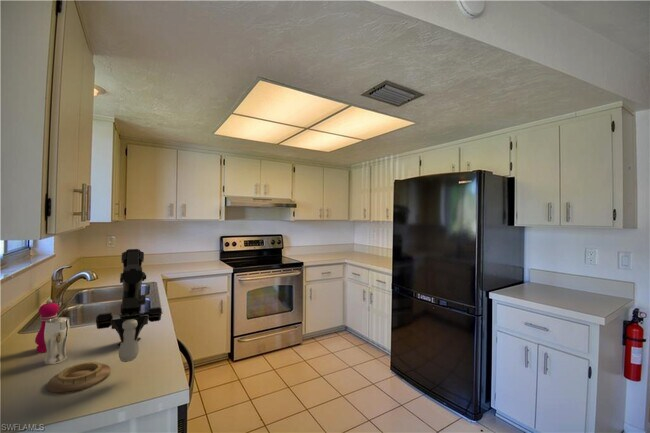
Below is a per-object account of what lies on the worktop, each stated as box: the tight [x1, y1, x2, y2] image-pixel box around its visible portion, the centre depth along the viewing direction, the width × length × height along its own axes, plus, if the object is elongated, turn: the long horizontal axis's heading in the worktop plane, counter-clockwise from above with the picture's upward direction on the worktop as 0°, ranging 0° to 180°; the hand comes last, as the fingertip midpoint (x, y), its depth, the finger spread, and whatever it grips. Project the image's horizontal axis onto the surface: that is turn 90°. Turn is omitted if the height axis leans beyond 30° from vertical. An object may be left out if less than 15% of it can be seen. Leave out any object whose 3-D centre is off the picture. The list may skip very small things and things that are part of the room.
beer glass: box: [44, 316, 71, 365], centre depth 108 cm, size 7×7×15 cm
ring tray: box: [46, 361, 111, 395], centre depth 97 cm, size 16×16×3 cm
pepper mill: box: [34, 298, 60, 354], centre depth 117 cm, size 7×7×20 cm
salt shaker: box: [117, 319, 140, 363], centre depth 98 cm, size 6×6×13 cm
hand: (129, 341), depth 97 cm, fingers closed on salt shaker, 3 cm apart
